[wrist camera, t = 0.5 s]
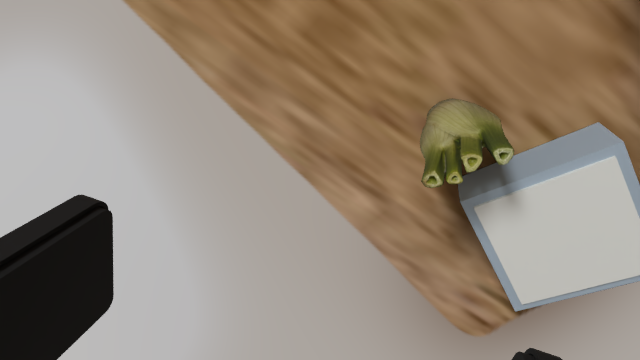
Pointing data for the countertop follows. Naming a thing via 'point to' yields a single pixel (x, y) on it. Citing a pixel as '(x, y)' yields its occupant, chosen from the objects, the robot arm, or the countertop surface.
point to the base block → (559, 218)
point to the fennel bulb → (460, 141)
